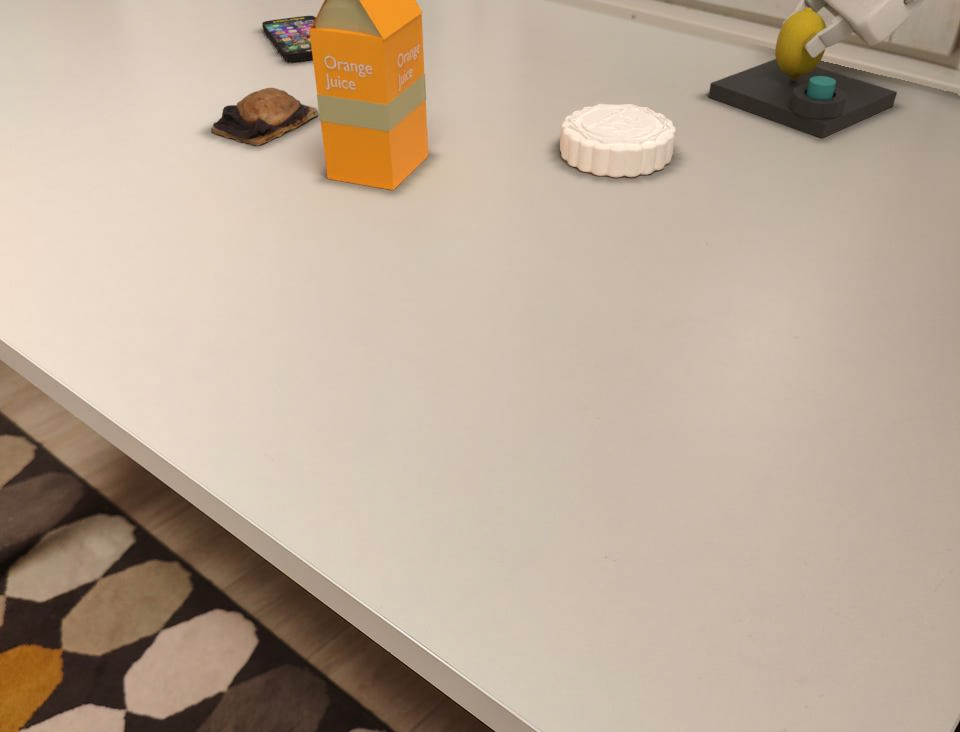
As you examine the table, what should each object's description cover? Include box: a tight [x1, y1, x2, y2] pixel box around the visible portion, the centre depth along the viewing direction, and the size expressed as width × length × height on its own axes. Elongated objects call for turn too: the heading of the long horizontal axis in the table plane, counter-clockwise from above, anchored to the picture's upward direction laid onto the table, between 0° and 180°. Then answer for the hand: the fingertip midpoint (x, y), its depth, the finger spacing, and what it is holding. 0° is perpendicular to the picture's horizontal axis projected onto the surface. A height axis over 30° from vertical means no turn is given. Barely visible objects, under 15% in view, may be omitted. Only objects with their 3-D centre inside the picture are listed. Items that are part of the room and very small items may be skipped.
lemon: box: [774, 7, 827, 80], centre depth 109 cm, size 6×6×8 cm
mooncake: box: [559, 103, 677, 178], centre depth 100 cm, size 12×12×4 cm
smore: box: [210, 87, 319, 147], centre depth 107 cm, size 11×8×4 cm
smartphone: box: [261, 15, 317, 62], centre depth 128 cm, size 8×1×15 cm
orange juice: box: [309, 0, 429, 191], centre depth 92 cm, size 8×9×20 cm
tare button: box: [806, 76, 836, 99], centre depth 104 cm, size 3×3×2 cm
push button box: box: [708, 58, 898, 139], centre depth 110 cm, size 16×14×4 cm
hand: (796, 41), depth 109 cm, fingers closed on lemon, 6 cm apart
